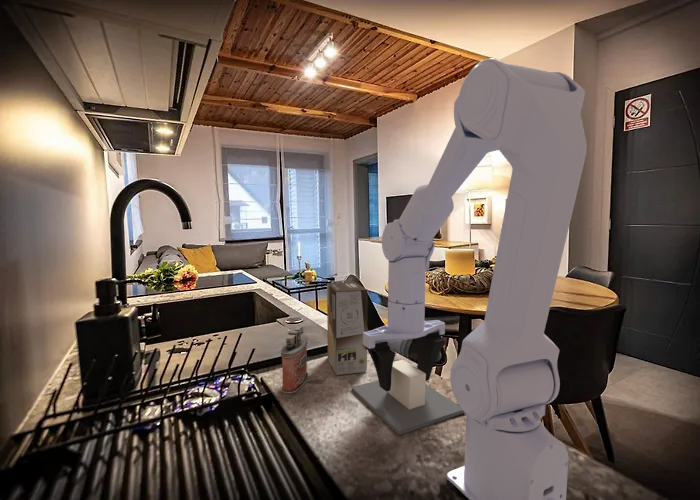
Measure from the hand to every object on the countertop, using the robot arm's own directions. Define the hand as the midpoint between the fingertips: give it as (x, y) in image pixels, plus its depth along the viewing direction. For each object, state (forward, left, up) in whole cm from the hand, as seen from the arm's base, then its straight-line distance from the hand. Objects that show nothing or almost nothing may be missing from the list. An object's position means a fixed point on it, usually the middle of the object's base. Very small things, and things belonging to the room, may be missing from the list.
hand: (404, 383), depth 57 cm
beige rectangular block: (0, 0, -2) cm, 2 cm away
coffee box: (+17, +2, -3) cm, 17 cm away
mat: (0, 0, -3) cm, 3 cm away
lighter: (+13, +14, -3) cm, 19 cm away
